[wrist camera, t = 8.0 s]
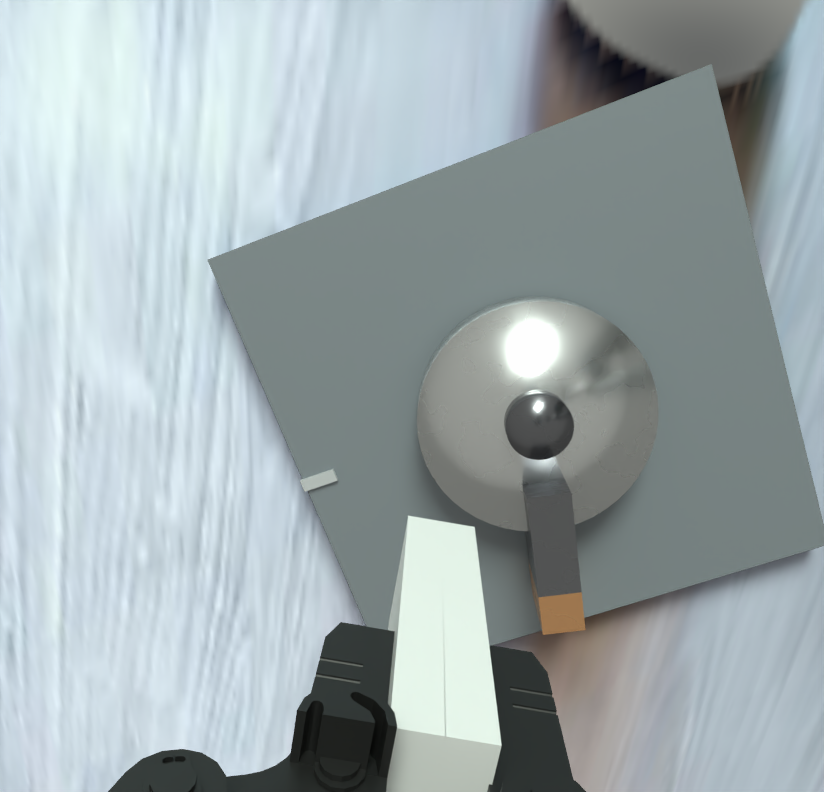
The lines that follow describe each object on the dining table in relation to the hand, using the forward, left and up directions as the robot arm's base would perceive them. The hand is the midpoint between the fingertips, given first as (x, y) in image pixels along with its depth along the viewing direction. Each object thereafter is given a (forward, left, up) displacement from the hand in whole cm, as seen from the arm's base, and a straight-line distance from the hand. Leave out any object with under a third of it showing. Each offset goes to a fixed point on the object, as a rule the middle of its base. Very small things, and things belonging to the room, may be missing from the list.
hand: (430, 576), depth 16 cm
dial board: (-4, +3, -20) cm, 21 cm away
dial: (-4, +5, -19) cm, 20 cm away
